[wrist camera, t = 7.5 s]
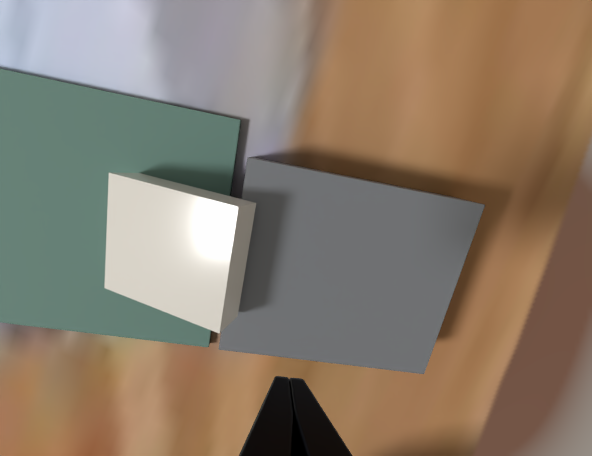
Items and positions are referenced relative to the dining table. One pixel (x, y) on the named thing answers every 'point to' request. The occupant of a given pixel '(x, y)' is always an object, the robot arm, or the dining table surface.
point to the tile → (177, 247)
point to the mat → (90, 198)
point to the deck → (347, 268)
